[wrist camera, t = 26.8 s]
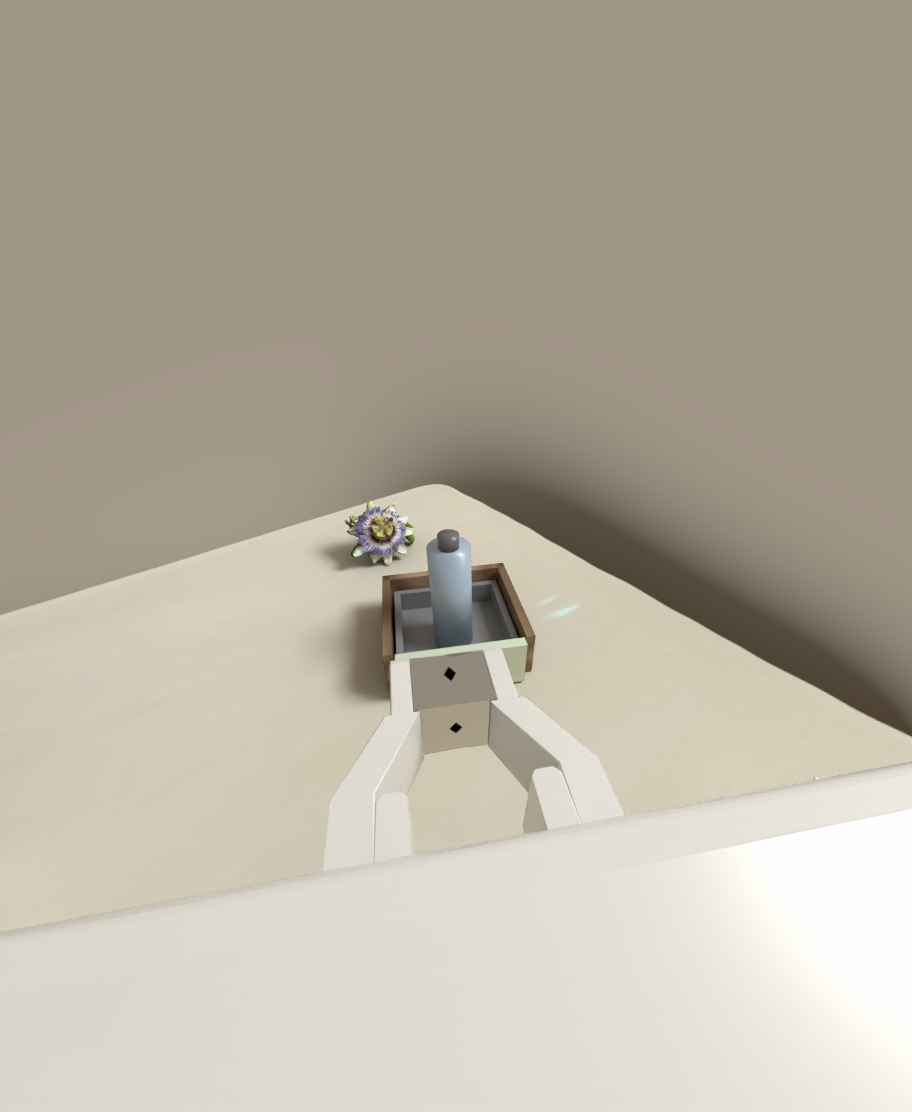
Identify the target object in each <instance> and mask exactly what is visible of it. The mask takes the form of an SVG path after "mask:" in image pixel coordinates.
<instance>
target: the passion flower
mask: <svg viewBox="0 0 912 1112" xmlns="http://www.w3.org/2000/svg"><path fill="white" fill-rule="evenodd" d="M395 510H396V504H392V505H390V506H388V507H387V508H386V509H384V510H383V511H380V507H377V506H376V505H375V503H374V502H373V501H369V502H368V504H367V509H366V511H365V512H363V515H360V516H359V517H358V516H350V517H349V518H350V522H348V521H347V520H345V521H346V522H345V523H346V524H347V525H349V527H350V529H349V530H348V531H347V532H348V533H349V534H351V535H354V536H356V537H359V540H358V544H357V545H356V546H355V547H354V549H353V550H352V552H351V556H352V557H358V556H360V555H362V554H363V553H364V552H367V553H368V554H369V558H370V560H371V562H372V563H373V564H375V563H377V561H378V560H382V561H383V562H384V564H385V565H386V566H389V565H390V564H391V562H392V554H393V553H394V552H395V551H396V552H398V553H400V554H406V553H407V549H406V546H405V544H404V541H405V540H406V539H408V541H409V542H410V543H411V544H413V542H414V536H413V534H414V532H415V529H414V528H413V527H412V525H410V524H409V523H408V519H409V518H408V517H407V516H399V515H398V516H395V512H396V511H395ZM357 519H358V522H357V523H355V520H357ZM352 523H353V524H354V526H353V525H351V524H352ZM405 538H406V539H405Z"/></svg>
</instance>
